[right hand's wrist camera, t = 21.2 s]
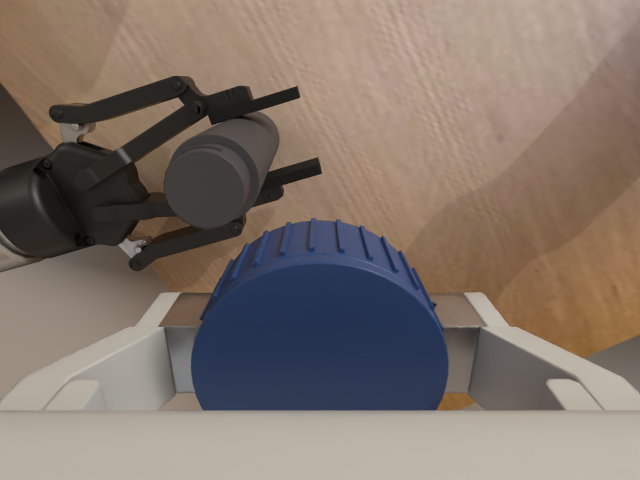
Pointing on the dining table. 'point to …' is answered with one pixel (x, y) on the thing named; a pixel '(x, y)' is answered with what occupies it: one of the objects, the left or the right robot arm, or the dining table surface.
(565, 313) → the dining table surface
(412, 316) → the lid
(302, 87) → the dining table surface
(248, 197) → the gray bottle
